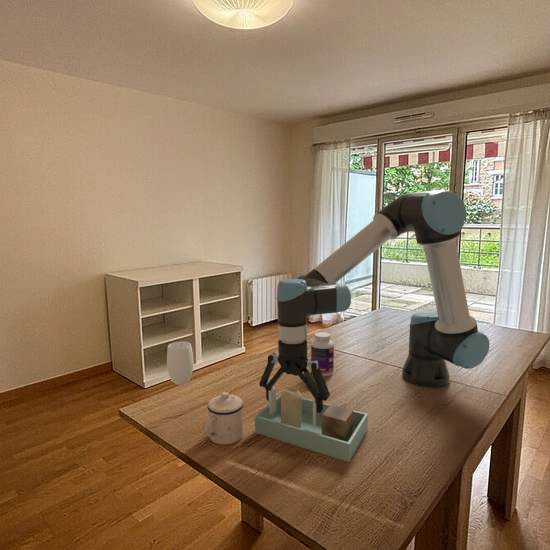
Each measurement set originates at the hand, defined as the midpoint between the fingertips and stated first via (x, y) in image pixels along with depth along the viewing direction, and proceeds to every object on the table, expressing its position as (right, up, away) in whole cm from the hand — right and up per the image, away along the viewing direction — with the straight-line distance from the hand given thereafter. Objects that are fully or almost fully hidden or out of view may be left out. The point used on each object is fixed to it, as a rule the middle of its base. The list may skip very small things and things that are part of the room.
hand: (293, 417), depth 103 cm
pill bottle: (+12, +2, +36) cm, 38 cm away
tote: (+5, -3, -2) cm, 6 cm away
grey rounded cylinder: (-31, -2, +7) cm, 32 cm away
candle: (-1, -3, +1) cm, 3 cm away
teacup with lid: (-18, -4, -4) cm, 19 cm away
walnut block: (+11, -3, -5) cm, 12 cm away
